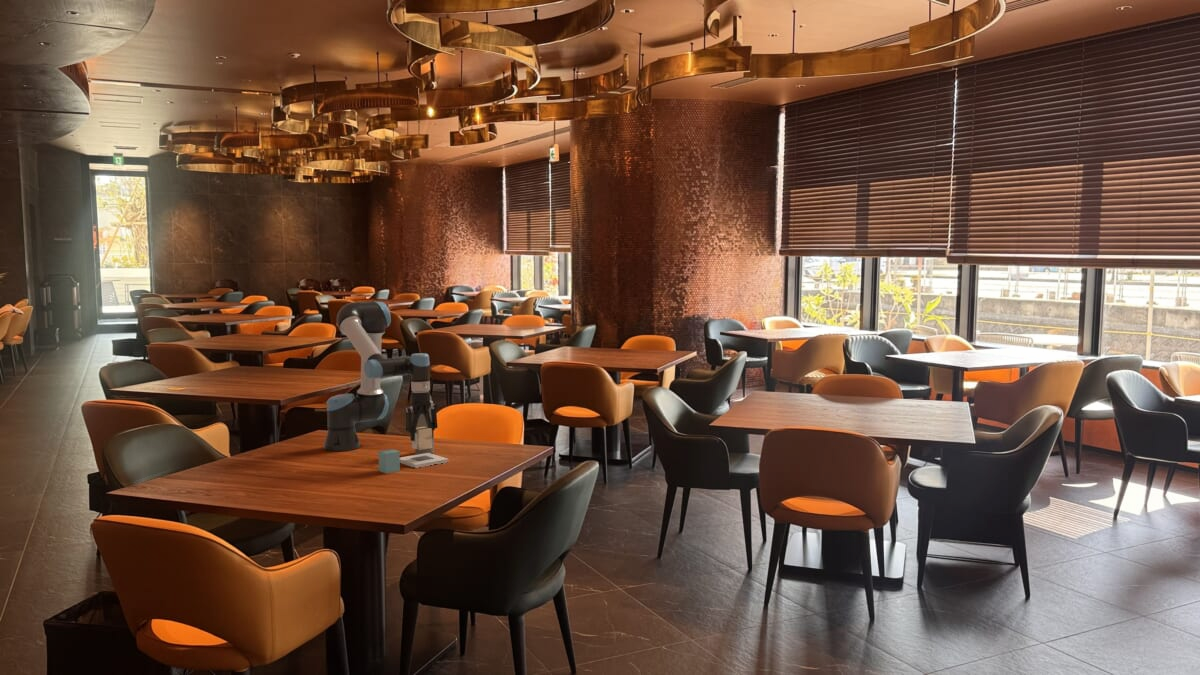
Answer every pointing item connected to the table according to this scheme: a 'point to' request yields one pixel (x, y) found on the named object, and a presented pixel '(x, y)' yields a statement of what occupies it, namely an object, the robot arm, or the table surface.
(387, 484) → the table surface
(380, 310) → the robot arm
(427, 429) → the maple block
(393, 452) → the teal block
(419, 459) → the base plate
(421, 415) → the thermos bottle
